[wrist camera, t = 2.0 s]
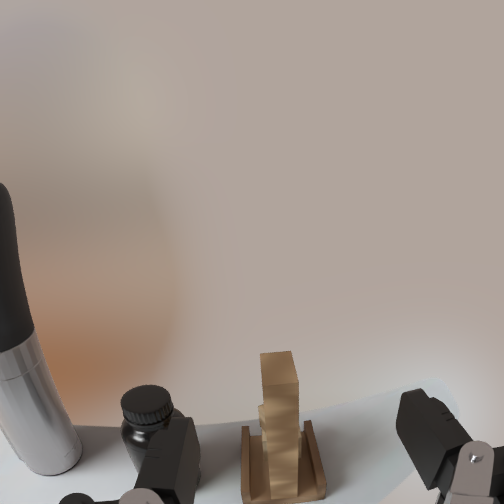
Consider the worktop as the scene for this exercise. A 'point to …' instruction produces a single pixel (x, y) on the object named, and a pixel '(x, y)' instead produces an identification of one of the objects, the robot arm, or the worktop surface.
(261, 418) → the small pine offcut
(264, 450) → the pine offcut
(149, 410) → the supplement bottle
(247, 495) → the walnut rack
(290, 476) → the oak board
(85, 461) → the worktop surface
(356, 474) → the worktop surface
